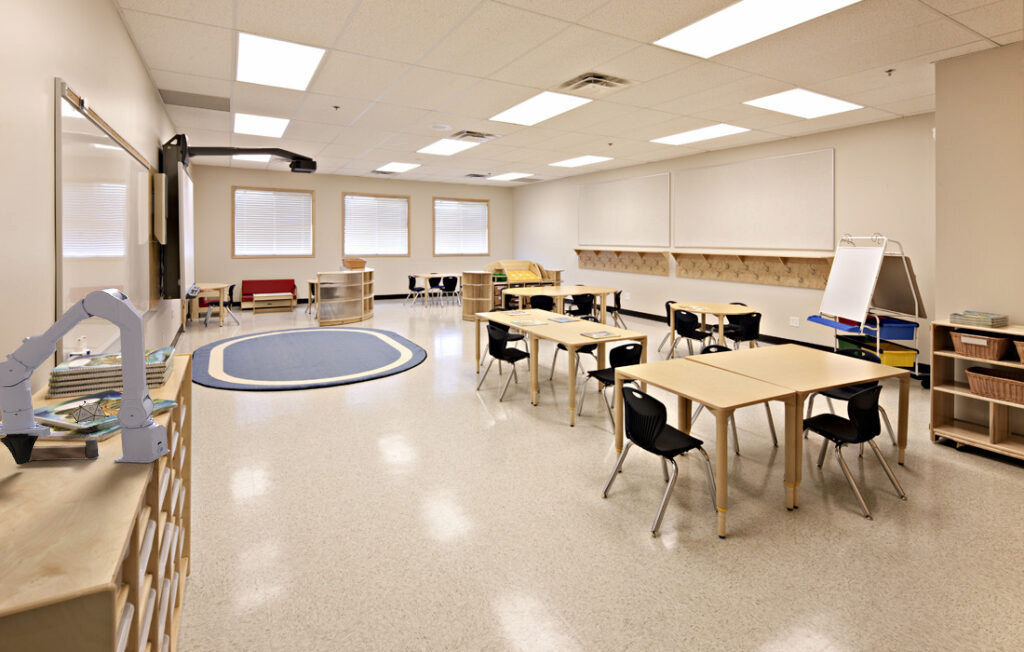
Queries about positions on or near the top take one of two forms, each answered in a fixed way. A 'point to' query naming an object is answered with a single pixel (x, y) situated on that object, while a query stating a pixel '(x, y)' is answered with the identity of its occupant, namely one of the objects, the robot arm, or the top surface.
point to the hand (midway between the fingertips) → (23, 463)
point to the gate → (66, 451)
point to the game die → (89, 412)
